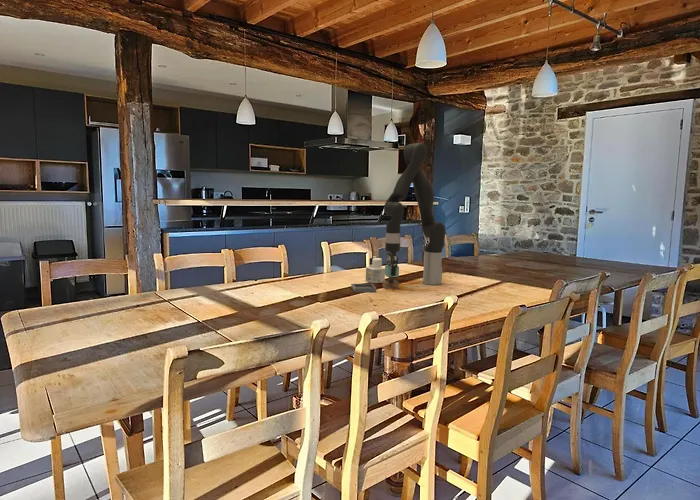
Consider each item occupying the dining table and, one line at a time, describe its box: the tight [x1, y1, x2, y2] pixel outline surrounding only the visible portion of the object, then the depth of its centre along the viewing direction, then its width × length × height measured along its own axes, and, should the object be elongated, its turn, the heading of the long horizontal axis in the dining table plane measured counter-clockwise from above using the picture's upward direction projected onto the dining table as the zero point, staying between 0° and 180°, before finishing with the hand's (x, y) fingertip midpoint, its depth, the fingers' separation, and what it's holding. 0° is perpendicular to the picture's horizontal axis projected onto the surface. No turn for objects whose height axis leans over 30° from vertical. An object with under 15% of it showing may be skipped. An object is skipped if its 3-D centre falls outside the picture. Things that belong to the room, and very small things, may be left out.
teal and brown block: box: [381, 277, 400, 290], centre depth 244 cm, size 7×7×9 cm
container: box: [365, 256, 386, 284], centre depth 257 cm, size 8×8×13 cm
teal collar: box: [384, 264, 400, 278], centre depth 243 cm, size 6×6×5 cm
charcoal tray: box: [350, 283, 377, 293], centre depth 237 cm, size 11×11×2 cm
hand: (391, 274), depth 243 cm, fingers closed on teal collar, 5 cm apart
